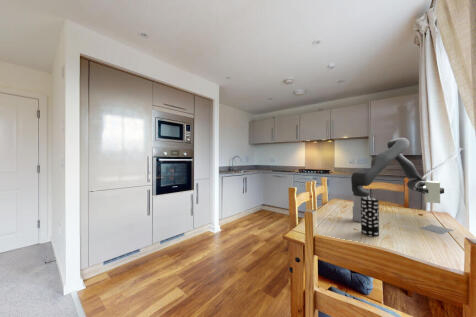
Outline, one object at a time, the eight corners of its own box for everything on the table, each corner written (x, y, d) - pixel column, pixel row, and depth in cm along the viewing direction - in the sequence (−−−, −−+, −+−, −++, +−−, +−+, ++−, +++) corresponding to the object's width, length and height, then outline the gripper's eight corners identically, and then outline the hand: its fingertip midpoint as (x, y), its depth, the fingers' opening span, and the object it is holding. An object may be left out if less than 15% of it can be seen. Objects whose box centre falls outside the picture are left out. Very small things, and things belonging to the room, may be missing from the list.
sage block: (440, 203, 110) (440, 182, 110) (428, 202, 113) (428, 182, 113) (436, 201, 114) (436, 181, 114) (425, 200, 117) (425, 181, 117)
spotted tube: (379, 237, 103) (379, 200, 103) (361, 234, 108) (360, 199, 108) (378, 232, 111) (377, 198, 110) (361, 230, 115) (360, 196, 115)
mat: (441, 235, 106) (441, 234, 106) (418, 228, 115) (418, 228, 115) (454, 230, 111) (454, 230, 111) (431, 225, 120) (431, 224, 120)
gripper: (409, 181, 129) (417, 184, 115) (439, 182, 122) (451, 186, 108) (409, 192, 129) (417, 197, 115) (439, 194, 122) (451, 199, 108)
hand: (434, 191), depth 111 cm, fingers closed on sage block, 5 cm apart
